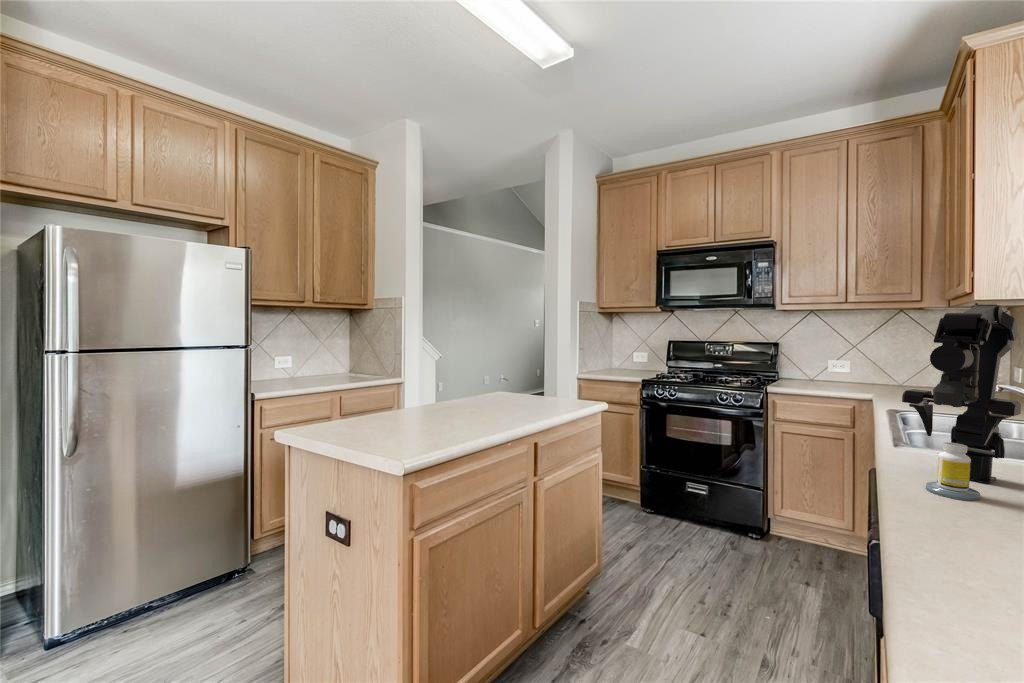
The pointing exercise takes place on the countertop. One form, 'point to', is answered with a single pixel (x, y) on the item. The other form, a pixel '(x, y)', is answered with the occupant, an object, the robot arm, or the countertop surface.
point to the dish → (953, 492)
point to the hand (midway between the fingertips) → (955, 440)
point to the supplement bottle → (954, 467)
